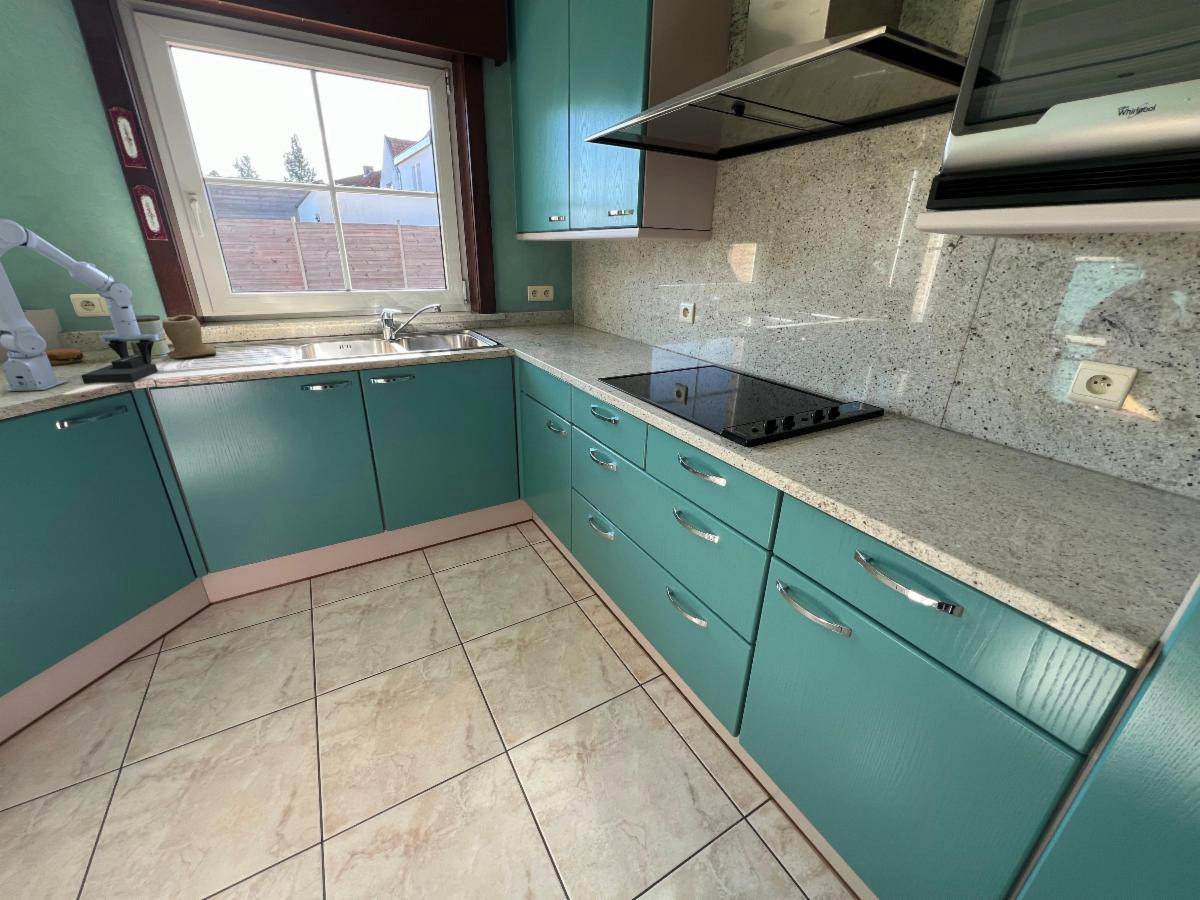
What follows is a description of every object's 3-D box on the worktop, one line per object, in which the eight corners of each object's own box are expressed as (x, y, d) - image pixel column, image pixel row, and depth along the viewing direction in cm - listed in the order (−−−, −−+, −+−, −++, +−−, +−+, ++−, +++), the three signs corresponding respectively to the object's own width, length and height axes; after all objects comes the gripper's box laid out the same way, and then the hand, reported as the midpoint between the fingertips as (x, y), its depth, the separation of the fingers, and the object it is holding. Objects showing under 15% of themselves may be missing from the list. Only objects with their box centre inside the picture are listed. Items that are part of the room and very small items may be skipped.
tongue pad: (134, 373, 154) (130, 360, 152) (115, 374, 152) (110, 361, 151) (152, 366, 163) (148, 354, 161) (133, 367, 161) (129, 355, 160)
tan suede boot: (173, 362, 172) (160, 318, 167) (165, 357, 180) (153, 315, 174) (225, 356, 183) (214, 315, 178) (215, 352, 190) (205, 312, 185)
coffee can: (128, 359, 175) (114, 318, 170) (143, 353, 184) (131, 315, 179) (163, 358, 178) (150, 318, 173) (176, 352, 187) (165, 315, 182)
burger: (37, 366, 162) (31, 352, 160) (57, 360, 170) (51, 347, 169) (74, 365, 165) (69, 351, 163) (92, 359, 173) (87, 346, 171)
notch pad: (133, 381, 147) (130, 373, 146) (83, 383, 144) (80, 375, 143) (158, 371, 160) (155, 363, 159) (113, 372, 157) (110, 365, 156)
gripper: (158, 319, 160) (171, 360, 165) (104, 319, 156) (118, 361, 161) (146, 322, 154) (159, 364, 159) (89, 322, 150) (105, 366, 155)
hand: (138, 363), depth 160 cm, fingers closed on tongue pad, 5 cm apart
